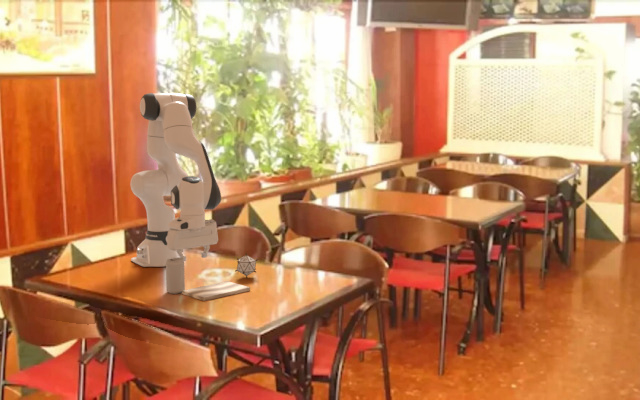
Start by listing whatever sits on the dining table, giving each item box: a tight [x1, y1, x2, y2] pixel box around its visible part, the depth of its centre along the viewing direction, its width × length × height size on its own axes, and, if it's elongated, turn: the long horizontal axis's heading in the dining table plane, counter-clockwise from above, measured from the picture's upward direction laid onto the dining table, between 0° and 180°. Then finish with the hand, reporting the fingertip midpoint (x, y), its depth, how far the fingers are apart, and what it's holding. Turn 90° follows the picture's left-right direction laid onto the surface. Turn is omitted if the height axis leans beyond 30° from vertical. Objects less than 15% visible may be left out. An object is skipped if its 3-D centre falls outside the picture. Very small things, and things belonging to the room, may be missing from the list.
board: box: [181, 280, 251, 302], centre depth 270 cm, size 13×20×1 cm, turn 134°
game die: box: [234, 252, 259, 279], centre depth 290 cm, size 9×8×10 cm
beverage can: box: [165, 258, 186, 295], centre depth 270 cm, size 6×6×12 cm
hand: (193, 259), depth 278 cm, fingers open, 8 cm apart
